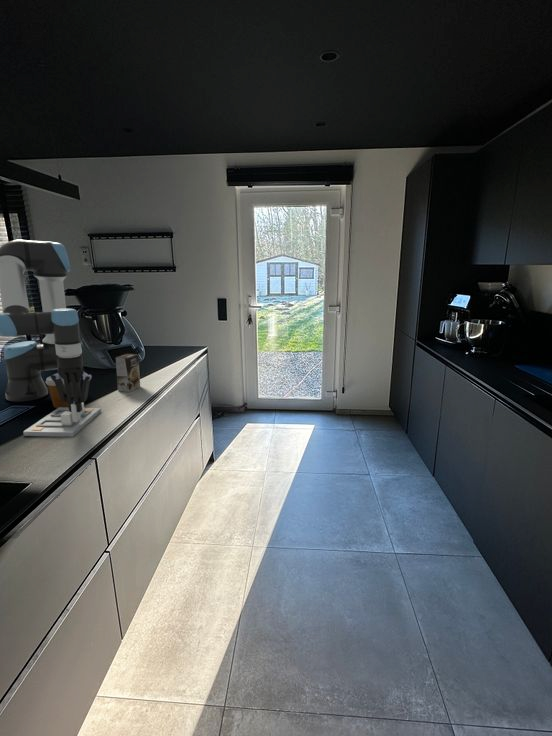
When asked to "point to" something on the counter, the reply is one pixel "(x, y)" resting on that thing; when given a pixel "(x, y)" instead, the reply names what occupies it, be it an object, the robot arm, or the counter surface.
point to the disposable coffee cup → (55, 393)
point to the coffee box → (128, 372)
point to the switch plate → (60, 423)
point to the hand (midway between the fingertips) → (76, 420)
